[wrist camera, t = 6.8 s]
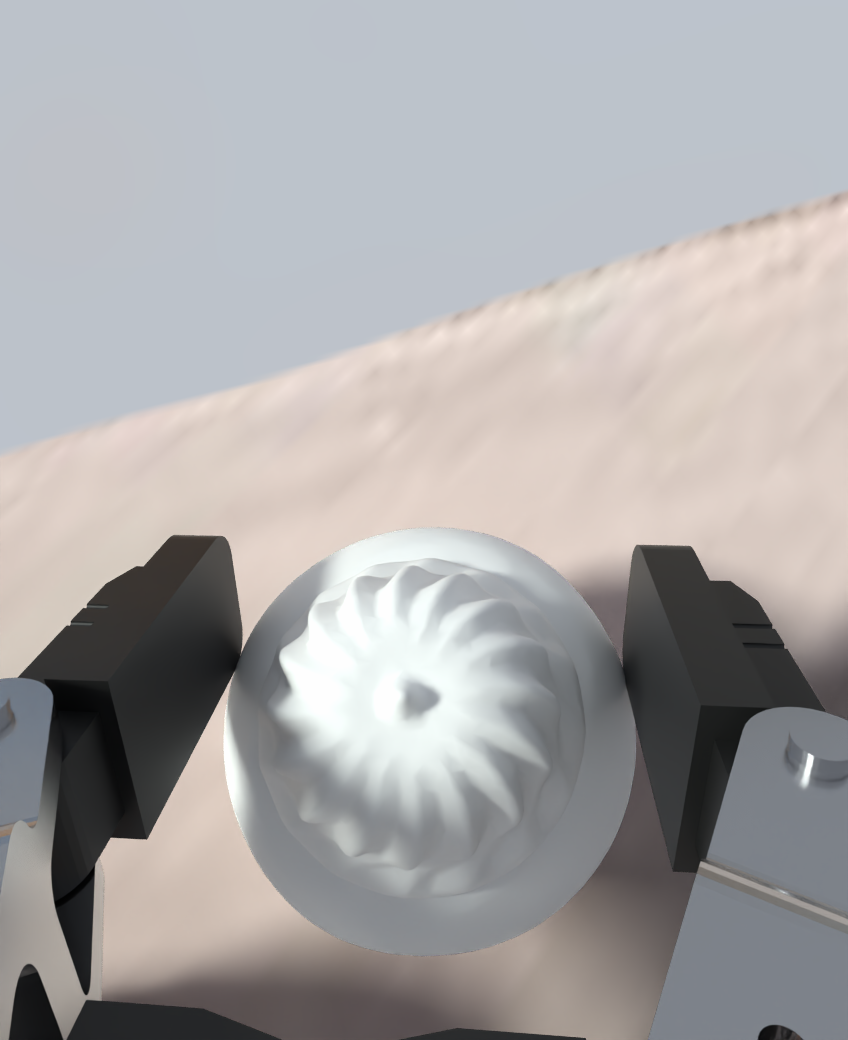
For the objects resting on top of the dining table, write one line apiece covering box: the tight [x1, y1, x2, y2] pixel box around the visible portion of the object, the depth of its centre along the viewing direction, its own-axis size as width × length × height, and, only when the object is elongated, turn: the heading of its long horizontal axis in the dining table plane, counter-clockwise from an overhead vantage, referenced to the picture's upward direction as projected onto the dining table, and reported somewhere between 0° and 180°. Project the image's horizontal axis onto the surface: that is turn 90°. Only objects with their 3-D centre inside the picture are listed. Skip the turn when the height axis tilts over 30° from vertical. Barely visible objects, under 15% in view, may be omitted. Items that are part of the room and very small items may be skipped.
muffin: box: [224, 527, 636, 956], centre depth 11 cm, size 6×6×7 cm
